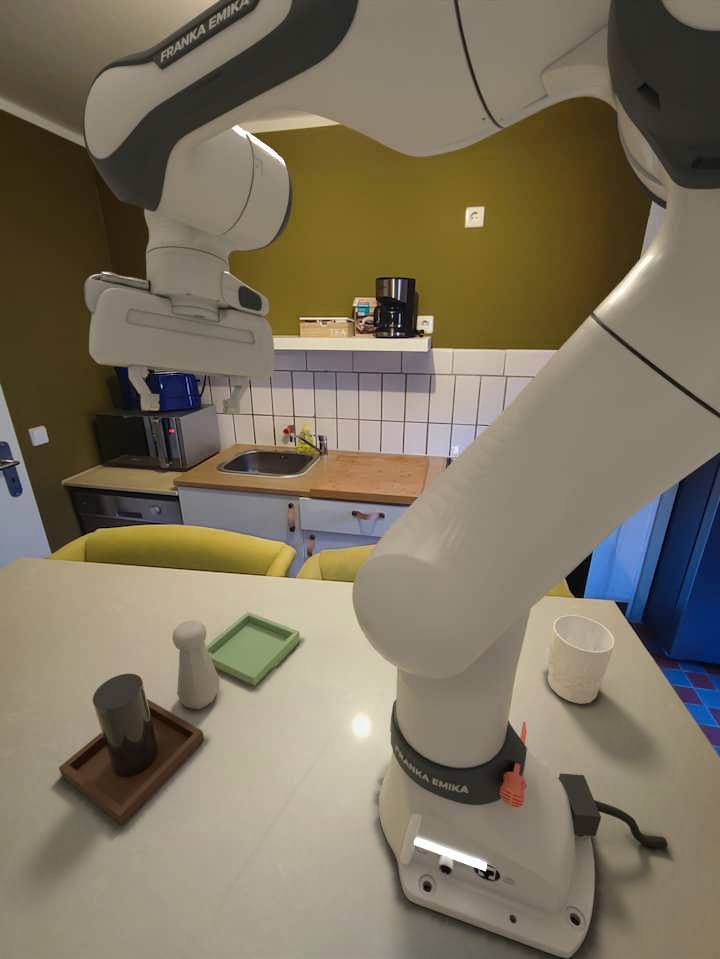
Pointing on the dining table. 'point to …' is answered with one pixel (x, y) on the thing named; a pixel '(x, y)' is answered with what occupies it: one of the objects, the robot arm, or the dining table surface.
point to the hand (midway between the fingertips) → (193, 412)
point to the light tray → (252, 647)
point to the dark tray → (130, 793)
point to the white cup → (578, 657)
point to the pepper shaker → (126, 724)
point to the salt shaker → (194, 666)
